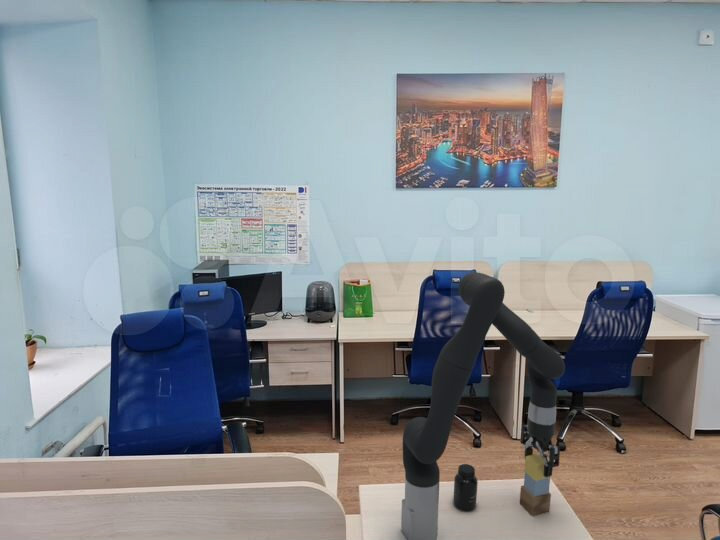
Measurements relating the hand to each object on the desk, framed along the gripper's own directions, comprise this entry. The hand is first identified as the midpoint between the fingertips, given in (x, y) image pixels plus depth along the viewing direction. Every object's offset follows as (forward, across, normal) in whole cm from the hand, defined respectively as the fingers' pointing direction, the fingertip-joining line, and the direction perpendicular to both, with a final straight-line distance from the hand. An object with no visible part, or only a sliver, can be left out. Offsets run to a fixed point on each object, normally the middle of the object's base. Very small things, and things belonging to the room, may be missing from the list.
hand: (537, 468), depth 147 cm
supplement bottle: (+13, -8, -19) cm, 25 cm away
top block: (+2, 0, 0) cm, 2 cm away
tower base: (+13, 0, 0) cm, 13 cm away
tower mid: (+7, 0, 0) cm, 7 cm away
